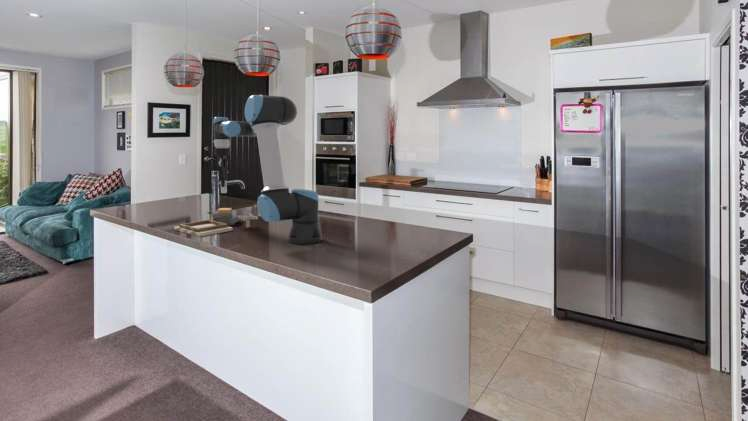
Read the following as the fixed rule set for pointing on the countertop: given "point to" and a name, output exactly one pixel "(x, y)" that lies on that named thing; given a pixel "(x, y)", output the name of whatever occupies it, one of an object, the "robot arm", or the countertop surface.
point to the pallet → (203, 228)
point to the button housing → (226, 217)
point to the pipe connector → (248, 217)
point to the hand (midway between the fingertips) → (223, 192)
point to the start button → (224, 210)
